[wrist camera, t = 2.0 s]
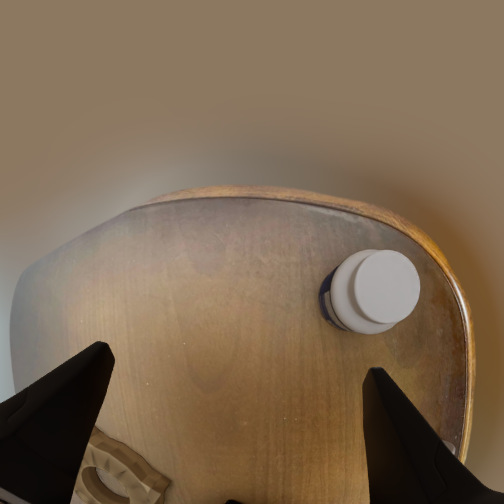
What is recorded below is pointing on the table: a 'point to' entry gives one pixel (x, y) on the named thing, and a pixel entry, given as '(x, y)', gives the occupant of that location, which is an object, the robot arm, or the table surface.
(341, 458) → the table surface
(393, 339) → the table surface
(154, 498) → the socket plate
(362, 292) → the pill bottle
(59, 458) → the robot arm
